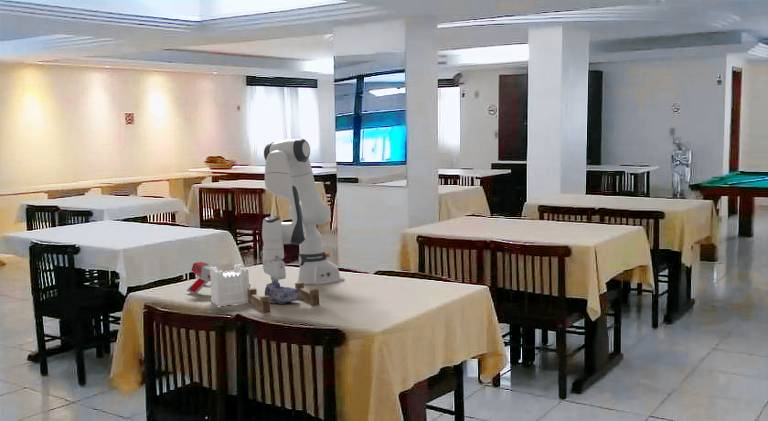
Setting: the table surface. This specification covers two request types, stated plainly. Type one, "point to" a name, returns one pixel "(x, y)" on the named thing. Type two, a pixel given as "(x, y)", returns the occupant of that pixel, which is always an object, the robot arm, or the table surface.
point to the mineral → (281, 293)
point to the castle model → (229, 286)
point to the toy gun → (201, 277)
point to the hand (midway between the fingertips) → (275, 286)
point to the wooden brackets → (264, 301)
